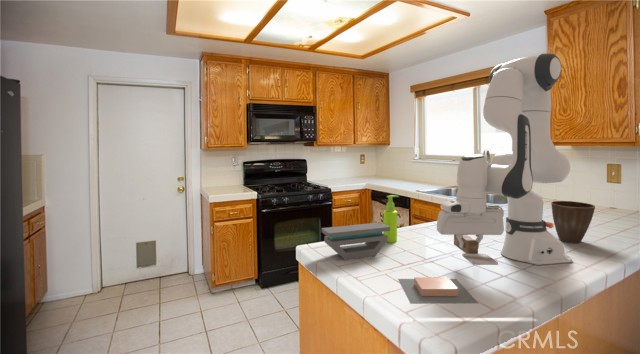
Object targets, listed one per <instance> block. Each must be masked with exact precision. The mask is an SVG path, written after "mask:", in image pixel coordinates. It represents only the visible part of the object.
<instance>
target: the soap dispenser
mask: <svg viewBox="0 0 640 354" xmlns="http://www.w3.org/2000/svg"><path fill="white" fill-rule="evenodd" d="M386 198H388V201H387V202H386V205H385V207H386V209H385V210H383V216H382V217H383V220H382V221H383V222H382V223H383V224H385V225H387V226H389V227H390V231H384V232H383V234H385V235H387V236H388V237H387V242H386V243H391V244H392V243H397V241H398V210H395V203H394V202H393V198H400V196H399V195H397V194H396V195H395V194H390V195H386Z"/></svg>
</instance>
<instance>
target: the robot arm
mask: <svg viewBox="0 0 640 354" xmlns="http://www.w3.org/2000/svg"><path fill="white" fill-rule="evenodd" d="M561 73H562V62H561V60H560V58H559V57H558V56H557V55H556V54H555V53H541V54H537V55H536V54H535V55H530V56H525V57H520V58H517V59H513V60H510V61H508V62H502V63H500V64H498V65H497V64H496V66H494V67H493V68H492V70H491V71H490V73H489V77H488V81H489V82H488V83H489V85H488V88H487V90H486V93H485V94H486V95H485V99H484V104H483V109H482V111H483V112H482V114H483V118H484V120H485V121H486V123H487V124H488V125H490V126H491V127H493V128H495V129H497V130H499V131H502V132H505V133H508V134H509V135H510V137H511V151H503V152H499V153H495V155H493V157H492V158H491V160H490V162H489V161H488V160H487V156H486V155H485V154H483V153H482V154H481V153H472V154H465V155H463V156H462V157H461V158H460V159H459V162H458V167H457V172H456V173H457V174H456V185H457V192H456V195H455V198H453V199H450V200H446V201H443V202H441V203H440V209H441V210H440V211H439V212H438V215H437V221H436V231H437V232H438V233H440V235H447V236H449V235H450V236H451V235H452V236H454V235H456V237H457V238H458V240H459V242H460V244H459V246H460V248H466V243H465V242H463V241H462V239H461V238H463V235H467V236H471V235H473V236H475V237H476V238H475V240H476V241H477V242H478V249H479V247H480V243H481V241H482V240H483V238H484V236H501V235H503V233H504V232H505V238H504V243H503V246H502V249H501V251H500V254H501V255H502V256H504V257H506V258H508V259H510V260H514V261H519V262H522V263H523V262H524V263H527V264H531V265H536V266H540V265H553V264H563V263H564V264H566V263H573V258H572V257H571V256H570V255H569V254H567V253H565V251H566V250H565V246H564V245H565V244H564V243H563V241H561V240H559V238H558V237H556V236H555V235H554V234H552V232H550V231H548V228H549V229H553V228H555V224H554V222H550V221H545V220H544V219H543V216H544V215H543V214H544V201H543V198H542V197H541V196H540V195H539V194H538V193H536V192H534V191H533V190H532V189H533V186H534V185H533V184H534V183H538V184H552V183H562V182H563V181H564V180H565V179H566V178H568V176H569V174H570V172H571V163H570V161H569V159H568V157H567V156H566V155H564V154H563V153H562V152H560V151H559V150H558V149H557V148H556V146H555V145H554V142H553V141H552V137H551V116H552V115H551V112H552V96H551V95H552V94H551V93H552V92H551V90H552V88H553V86H555V84H556V83H557V82H558V80H559V79H560V77H561ZM487 194H490V195H497V196H504V197H506V199H507V216H506V217H505V226H504V213H505V212H504V208H502V207H501V206H500V205H490V204H489V205H487ZM504 228H505V229H504Z"/></svg>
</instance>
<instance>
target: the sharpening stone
mask: <svg viewBox="0 0 640 354" xmlns="http://www.w3.org/2000/svg"><path fill="white" fill-rule="evenodd" d="M384 231H390V227H389V226H387V225H385V224H383V222H379V221H378V222H370V223H360V224H359V223H358V224H351V225H350V224H349V225H341V226H329V227H321V233H322V234H323V235H324V243H325V244H327V246H328V247H330V248H331V249H332V250H333V251H334V252H335V253H336V254H338V255H339V256H340V257H342V258H343V260H345V261H352V260H360V259H366V258H367V259H368V258H373V257H376V255H377V254H378V253H379V252H380V250H381V249H383V247H384V246H385V245H386V244H387V243H388V242H387V237H388V236H387V235H385V234H383V232H384Z"/></svg>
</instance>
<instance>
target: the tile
mask: <svg viewBox="0 0 640 354" xmlns="http://www.w3.org/2000/svg"><path fill="white" fill-rule="evenodd" d="M413 279H414V284H415V286H416V288H417V289H418V291H419V292H420V294H421V296H458V288H457V287H456V286H455V285H454V284H453V282H452V281H451V280H450V279H451V278H449V277H448V276H447V277H446V276H445V277H444V276H443V277H440V276H439V277H434V276H433V277H432V276H431V277H426V276H425V277H418V276H417V277H414V278H413Z"/></svg>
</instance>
